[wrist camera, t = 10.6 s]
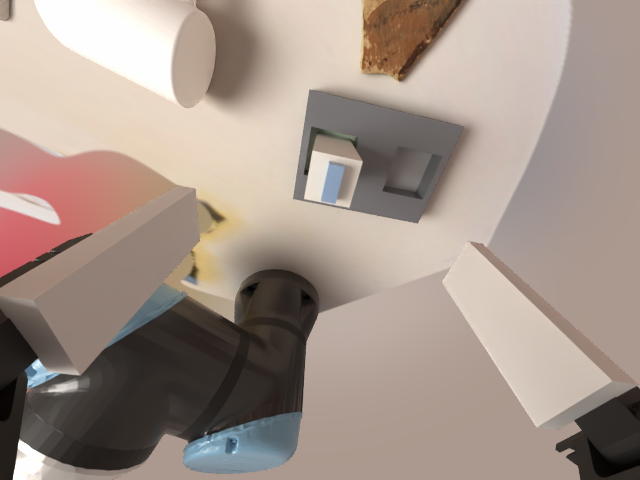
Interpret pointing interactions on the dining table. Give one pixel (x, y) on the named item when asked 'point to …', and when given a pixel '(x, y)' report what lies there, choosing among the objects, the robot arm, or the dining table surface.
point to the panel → (381, 154)
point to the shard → (400, 32)
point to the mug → (140, 41)
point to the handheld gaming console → (4, 10)
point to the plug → (333, 170)
